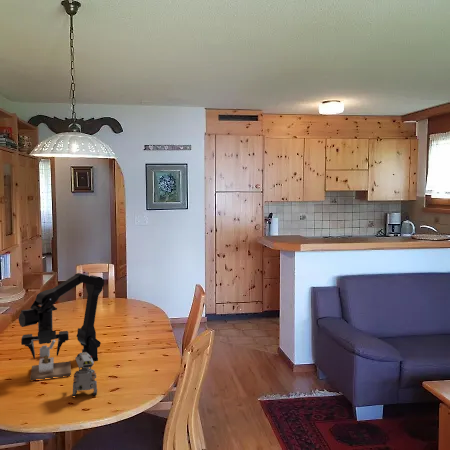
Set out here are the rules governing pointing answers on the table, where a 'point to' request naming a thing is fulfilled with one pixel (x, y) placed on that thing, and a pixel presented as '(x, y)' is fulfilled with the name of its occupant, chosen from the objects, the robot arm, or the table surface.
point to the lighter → (46, 349)
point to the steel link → (46, 365)
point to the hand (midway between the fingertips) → (45, 357)
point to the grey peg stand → (58, 370)
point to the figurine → (84, 374)
